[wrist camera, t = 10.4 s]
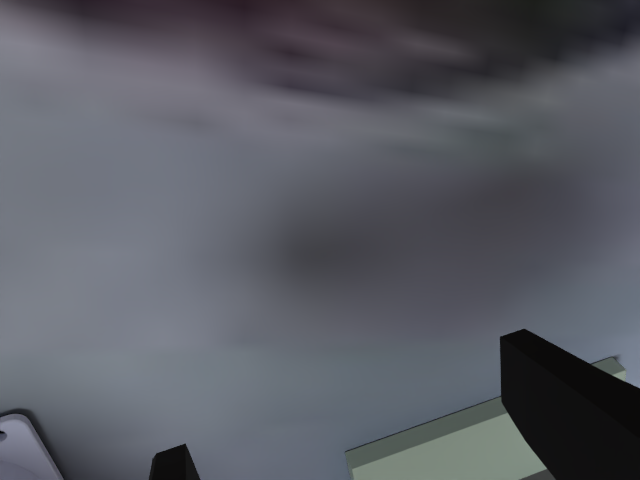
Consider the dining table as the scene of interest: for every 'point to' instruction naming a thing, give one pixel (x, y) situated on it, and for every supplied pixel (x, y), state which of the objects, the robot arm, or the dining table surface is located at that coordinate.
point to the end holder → (458, 447)
